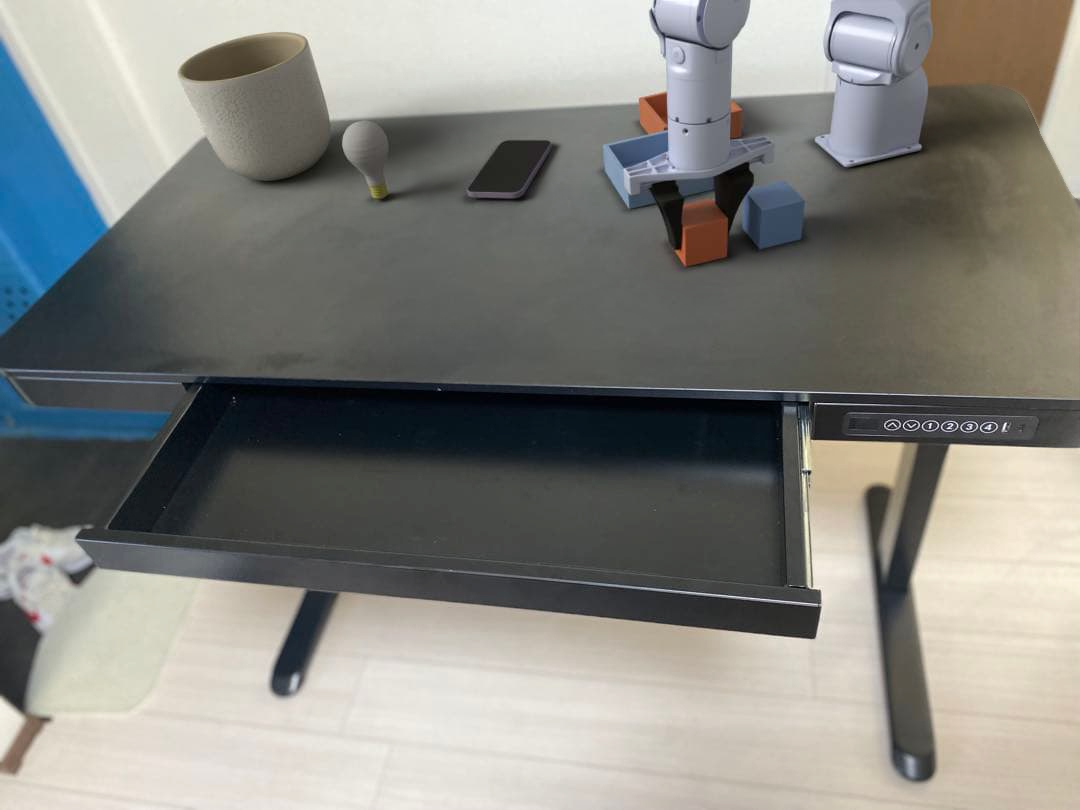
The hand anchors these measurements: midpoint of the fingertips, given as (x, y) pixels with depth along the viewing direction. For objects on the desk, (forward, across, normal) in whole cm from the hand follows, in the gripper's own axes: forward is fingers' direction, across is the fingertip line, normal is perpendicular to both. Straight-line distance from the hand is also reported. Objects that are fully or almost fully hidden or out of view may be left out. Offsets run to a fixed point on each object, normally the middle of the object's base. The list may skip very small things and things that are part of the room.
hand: (698, 239), depth 82 cm
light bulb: (+2, +32, -28) cm, 43 cm away
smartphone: (+2, +15, -27) cm, 31 cm away
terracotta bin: (+1, -9, -28) cm, 29 cm away
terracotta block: (+1, 0, 0) cm, 1 cm away
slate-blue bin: (+1, -1, -16) cm, 17 cm away
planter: (+2, +45, -45) cm, 64 cm away
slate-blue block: (+1, -8, 0) cm, 8 cm away
